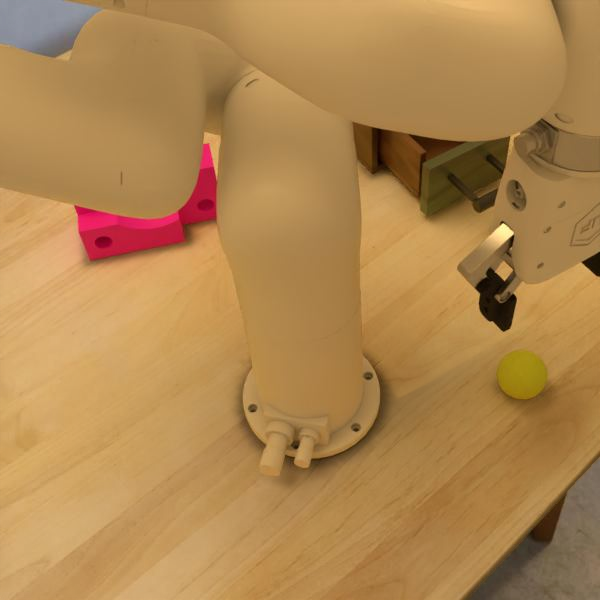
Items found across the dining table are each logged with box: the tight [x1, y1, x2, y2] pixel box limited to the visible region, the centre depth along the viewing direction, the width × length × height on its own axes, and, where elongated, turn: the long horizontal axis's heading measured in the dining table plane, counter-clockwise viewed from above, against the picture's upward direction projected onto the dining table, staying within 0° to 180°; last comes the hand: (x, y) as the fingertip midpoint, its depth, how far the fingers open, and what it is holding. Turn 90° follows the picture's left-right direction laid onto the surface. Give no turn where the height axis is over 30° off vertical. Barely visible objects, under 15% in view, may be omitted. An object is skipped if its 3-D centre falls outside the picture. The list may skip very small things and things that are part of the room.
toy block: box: [73, 142, 217, 261], centre depth 91 cm, size 15×6×8 cm, turn 102°
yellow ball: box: [496, 349, 548, 400], centre depth 76 cm, size 4×4×4 cm
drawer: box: [378, 128, 511, 217], centre depth 91 cm, size 18×10×7 cm, turn 31°
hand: (542, 290), depth 67 cm, fingers open, 9 cm apart
